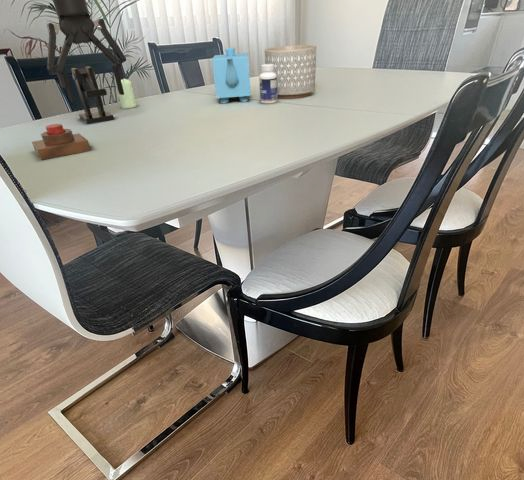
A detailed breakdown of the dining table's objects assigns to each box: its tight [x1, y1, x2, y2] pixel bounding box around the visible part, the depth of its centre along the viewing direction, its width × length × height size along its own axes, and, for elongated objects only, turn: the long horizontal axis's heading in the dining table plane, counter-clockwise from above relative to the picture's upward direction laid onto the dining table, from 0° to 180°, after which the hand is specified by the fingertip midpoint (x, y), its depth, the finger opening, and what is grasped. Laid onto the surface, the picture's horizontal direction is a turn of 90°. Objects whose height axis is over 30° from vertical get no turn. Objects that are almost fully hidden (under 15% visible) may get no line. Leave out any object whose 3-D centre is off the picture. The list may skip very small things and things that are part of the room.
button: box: [45, 123, 65, 135], centre depth 88 cm, size 4×4×2 cm
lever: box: [77, 67, 108, 99], centre depth 109 cm, size 12×6×2 cm, turn 32°
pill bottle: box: [258, 63, 278, 105], centre depth 120 cm, size 5×5×10 cm
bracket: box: [70, 65, 115, 125], centre depth 113 cm, size 10×8×13 cm
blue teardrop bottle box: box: [211, 47, 252, 104], centre depth 124 cm, size 22×11×14 cm, turn 2°
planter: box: [264, 44, 317, 100], centre depth 126 cm, size 16×16×13 cm
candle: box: [114, 78, 137, 109], centre depth 128 cm, size 5×5×8 cm
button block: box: [31, 128, 92, 161], centre depth 90 cm, size 11×9×4 cm
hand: (98, 98), depth 107 cm, fingers open, 13 cm apart
